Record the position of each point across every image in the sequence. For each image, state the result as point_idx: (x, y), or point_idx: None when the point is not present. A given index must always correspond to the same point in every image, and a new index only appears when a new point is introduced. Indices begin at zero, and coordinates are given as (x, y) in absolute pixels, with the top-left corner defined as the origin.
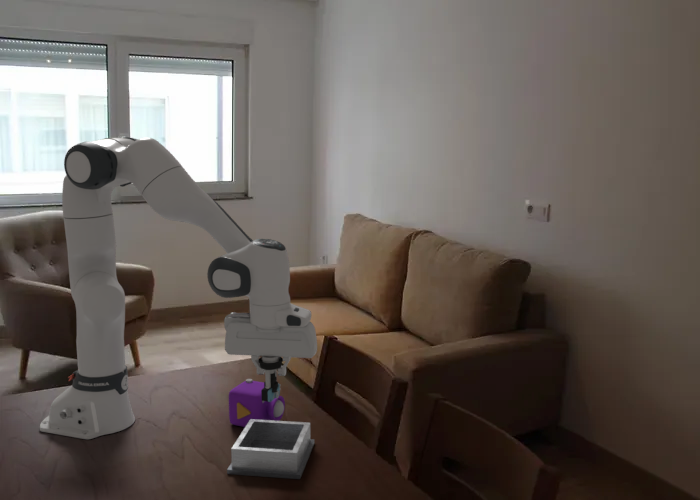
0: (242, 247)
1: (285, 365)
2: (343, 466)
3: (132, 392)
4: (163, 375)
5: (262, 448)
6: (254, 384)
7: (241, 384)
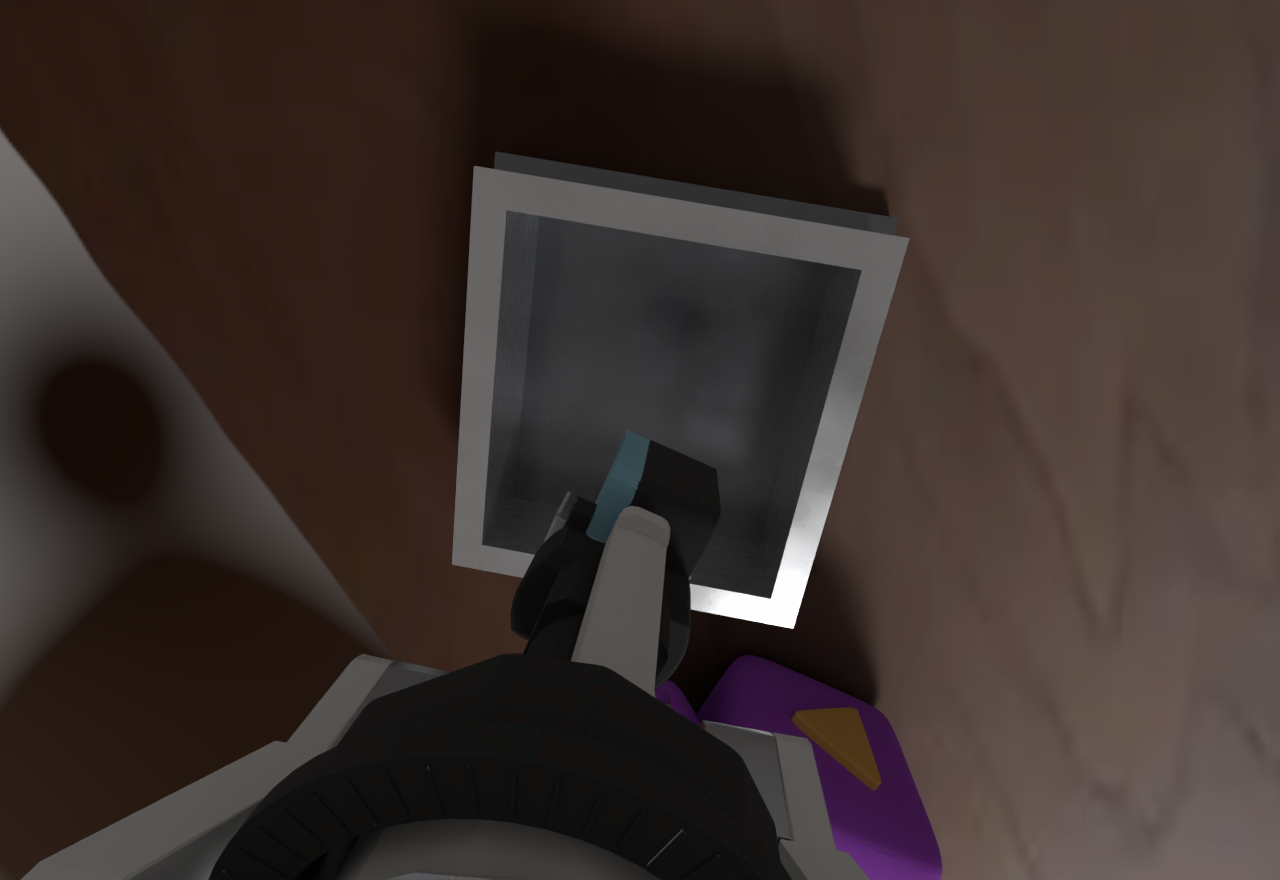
0: None
1: (209, 789)
2: (313, 289)
3: None
4: None
5: (700, 240)
6: None
7: None
